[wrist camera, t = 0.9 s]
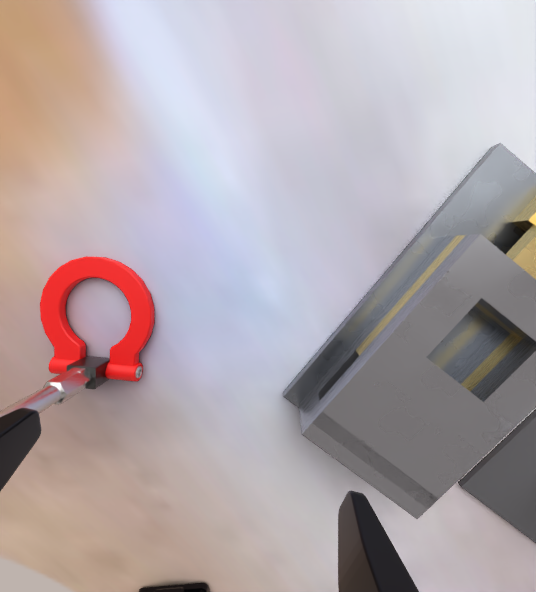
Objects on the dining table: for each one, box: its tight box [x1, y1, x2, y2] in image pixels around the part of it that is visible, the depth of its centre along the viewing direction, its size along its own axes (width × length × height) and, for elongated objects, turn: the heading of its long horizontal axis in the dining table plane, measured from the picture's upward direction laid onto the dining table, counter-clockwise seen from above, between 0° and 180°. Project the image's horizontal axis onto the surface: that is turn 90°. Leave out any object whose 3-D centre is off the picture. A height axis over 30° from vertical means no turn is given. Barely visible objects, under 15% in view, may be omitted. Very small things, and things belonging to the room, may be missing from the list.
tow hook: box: [0, 257, 154, 417], centre depth 17 cm, size 8×13×9 cm
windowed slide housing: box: [284, 143, 536, 519], centre depth 19 cm, size 22×12×4 cm, turn 143°
